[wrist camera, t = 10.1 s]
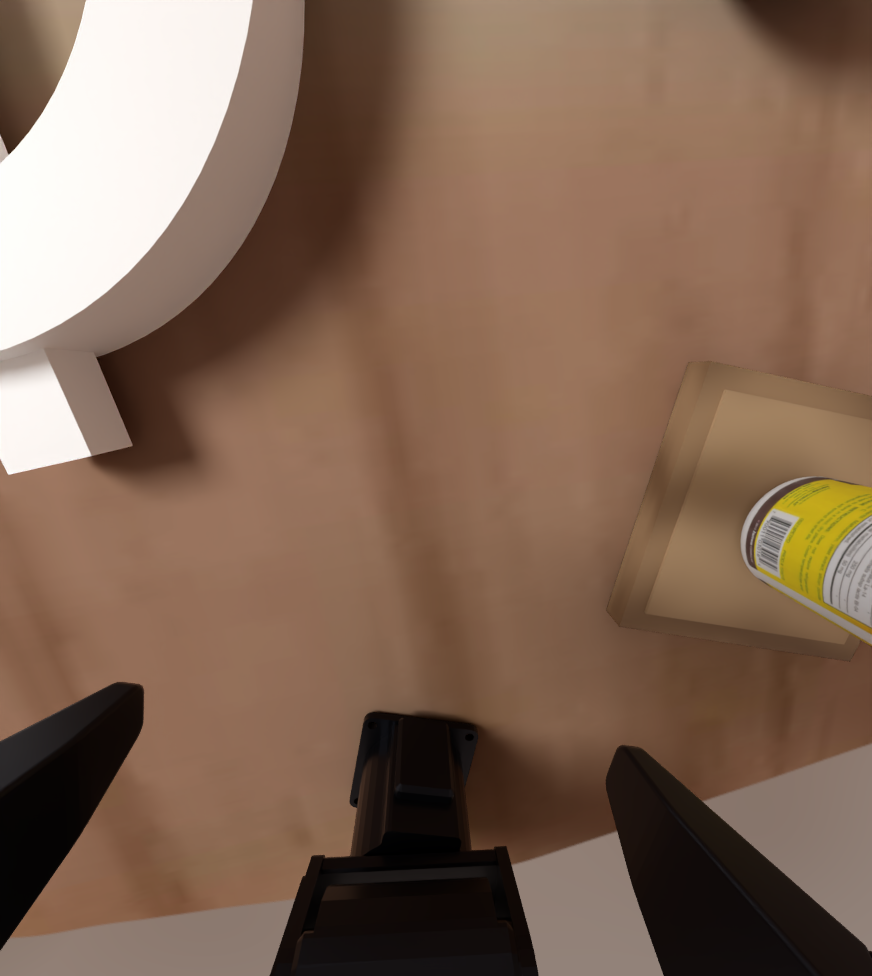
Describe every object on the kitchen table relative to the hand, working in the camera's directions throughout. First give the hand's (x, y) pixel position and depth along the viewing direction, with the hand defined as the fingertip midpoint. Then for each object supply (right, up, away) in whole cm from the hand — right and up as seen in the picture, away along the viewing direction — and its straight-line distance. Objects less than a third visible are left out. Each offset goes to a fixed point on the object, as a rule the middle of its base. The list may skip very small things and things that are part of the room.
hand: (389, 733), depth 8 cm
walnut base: (+18, +3, +13) cm, 22 cm away
